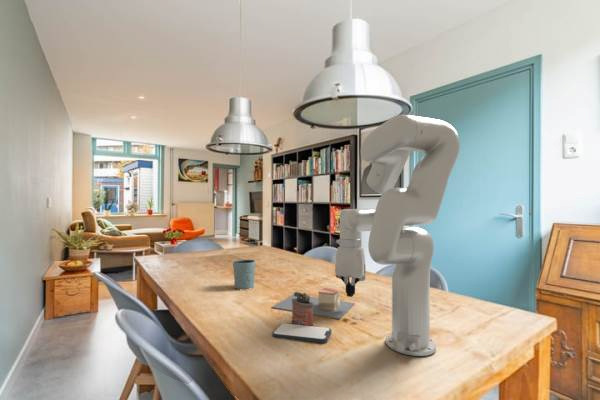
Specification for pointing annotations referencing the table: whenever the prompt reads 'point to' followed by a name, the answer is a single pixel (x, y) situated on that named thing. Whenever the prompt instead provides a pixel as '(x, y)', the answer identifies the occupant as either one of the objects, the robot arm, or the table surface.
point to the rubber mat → (317, 307)
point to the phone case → (302, 333)
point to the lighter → (302, 310)
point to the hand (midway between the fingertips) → (350, 295)
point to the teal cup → (244, 273)
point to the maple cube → (329, 299)
